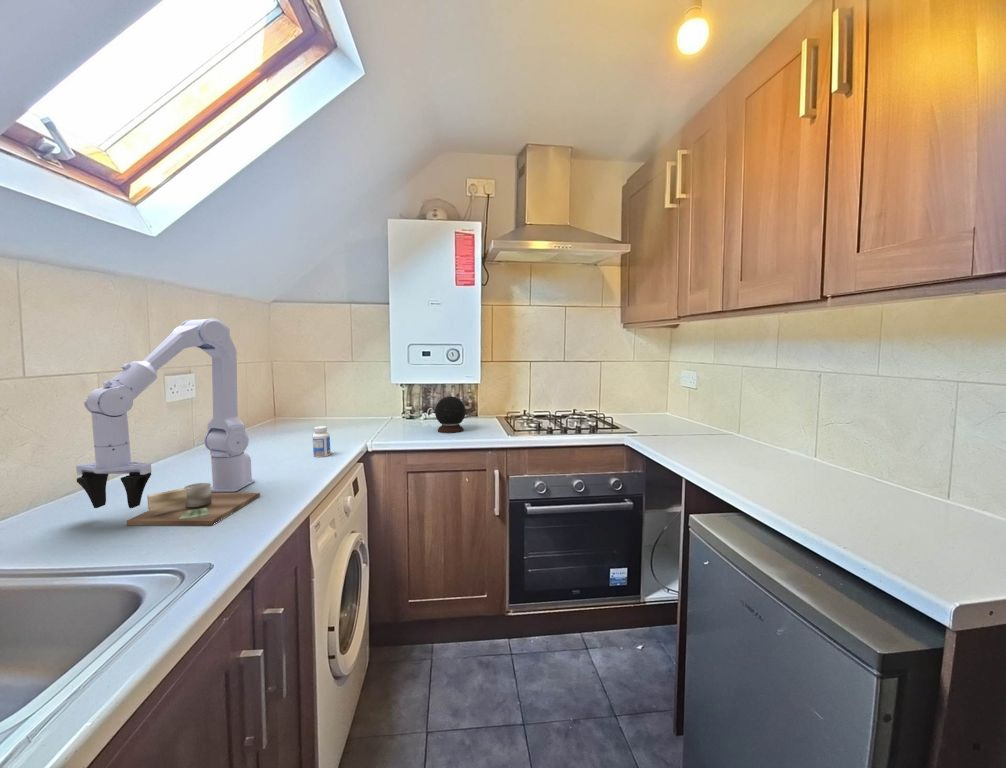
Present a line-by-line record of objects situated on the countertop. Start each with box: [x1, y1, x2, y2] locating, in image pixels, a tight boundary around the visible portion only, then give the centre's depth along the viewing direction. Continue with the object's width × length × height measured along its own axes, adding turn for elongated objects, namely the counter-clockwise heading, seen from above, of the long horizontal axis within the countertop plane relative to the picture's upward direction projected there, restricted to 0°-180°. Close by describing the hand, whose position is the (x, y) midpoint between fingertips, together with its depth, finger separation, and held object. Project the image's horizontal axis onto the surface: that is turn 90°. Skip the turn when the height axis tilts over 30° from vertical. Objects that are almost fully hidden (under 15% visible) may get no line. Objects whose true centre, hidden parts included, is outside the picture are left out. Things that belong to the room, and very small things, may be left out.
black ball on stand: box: [434, 396, 467, 434], centre depth 197 cm, size 13×13×15 cm
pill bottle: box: [312, 425, 331, 458], centre depth 154 cm, size 6×5×10 cm
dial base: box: [126, 492, 261, 526], centre depth 104 cm, size 18×18×1 cm
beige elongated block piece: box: [146, 482, 212, 511], centre depth 101 cm, size 12×5×4 cm, turn 139°
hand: (117, 506), depth 98 cm, fingers open, 7 cm apart
